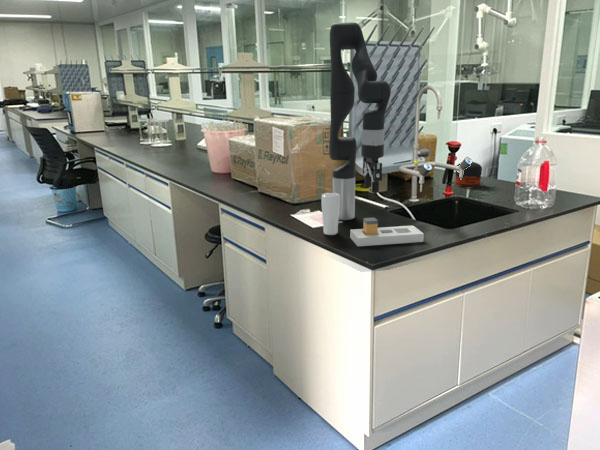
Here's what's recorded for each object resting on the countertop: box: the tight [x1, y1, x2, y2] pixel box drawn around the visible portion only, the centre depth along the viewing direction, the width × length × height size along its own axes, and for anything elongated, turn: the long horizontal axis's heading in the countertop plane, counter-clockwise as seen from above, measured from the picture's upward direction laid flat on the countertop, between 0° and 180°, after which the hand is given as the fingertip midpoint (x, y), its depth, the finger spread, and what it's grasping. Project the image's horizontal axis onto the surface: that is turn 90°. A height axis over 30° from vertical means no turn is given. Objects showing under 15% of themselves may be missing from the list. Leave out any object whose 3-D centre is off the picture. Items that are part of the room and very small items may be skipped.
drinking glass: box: [321, 192, 340, 236], centre depth 177 cm, size 7×7×15 cm
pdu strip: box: [349, 225, 425, 247], centre depth 171 cm, size 10×24×3 cm, turn 99°
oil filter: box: [454, 161, 483, 188], centre depth 252 cm, size 13×12×13 cm
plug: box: [362, 217, 379, 235], centre depth 169 cm, size 4×4×8 cm
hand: (371, 189), depth 165 cm, fingers open, 8 cm apart
